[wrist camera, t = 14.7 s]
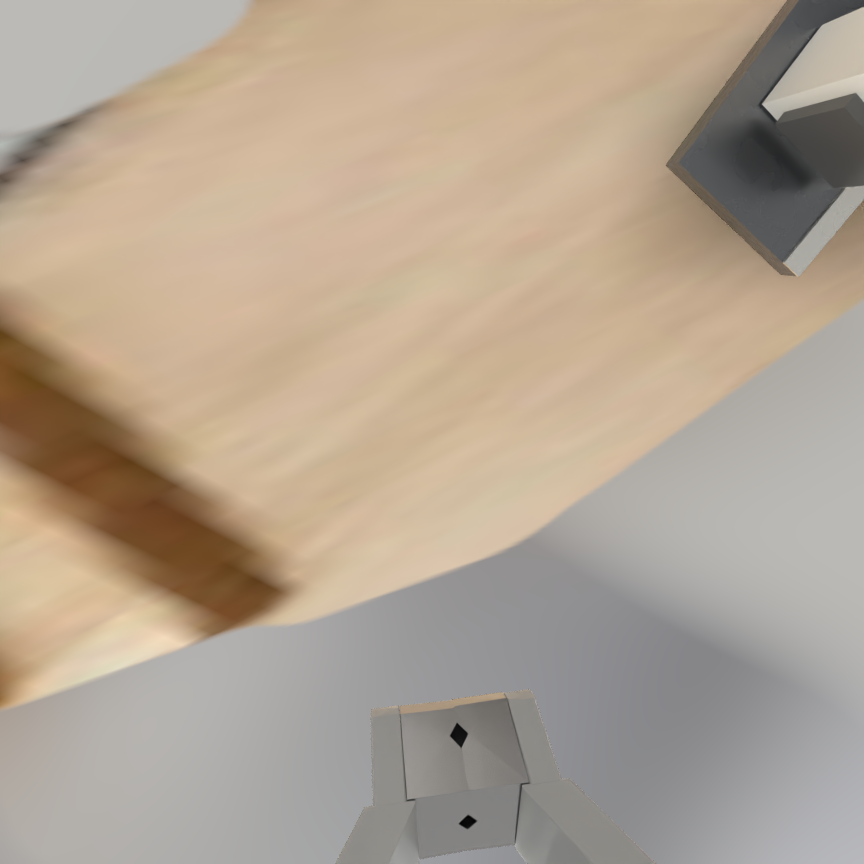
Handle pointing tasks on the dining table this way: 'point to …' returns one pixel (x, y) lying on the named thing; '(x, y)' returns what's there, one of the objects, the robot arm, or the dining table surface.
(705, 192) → the base
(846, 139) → the cream rectangular block
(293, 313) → the dining table surface
